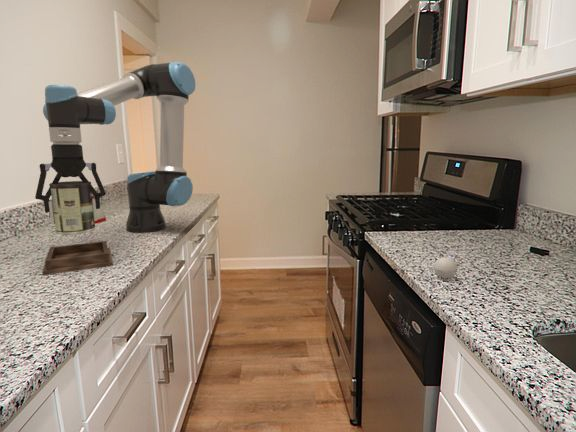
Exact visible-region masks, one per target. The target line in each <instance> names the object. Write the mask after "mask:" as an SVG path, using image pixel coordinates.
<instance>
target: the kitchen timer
mask: <svg viewBox="0 0 576 432" xmlns="http://www.w3.org/2000/svg"><path fill="white" fill-rule="evenodd" d="M92 198H95V197H94V196H93V195H92ZM96 213H97V221H95V225H96V224H101V223H103V222H106V220H107V218H106V217H107V216H106V213H105V210H104V208H103V206H102V204H101V203H100V209H96Z"/></svg>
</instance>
